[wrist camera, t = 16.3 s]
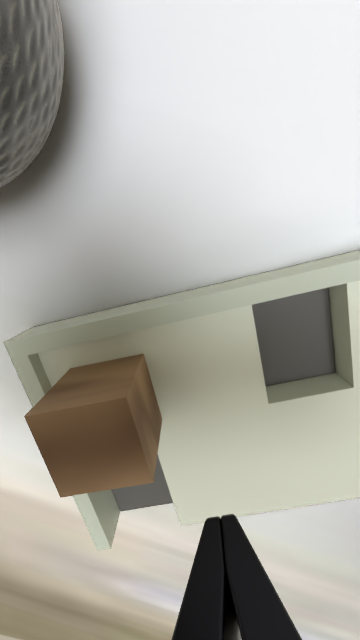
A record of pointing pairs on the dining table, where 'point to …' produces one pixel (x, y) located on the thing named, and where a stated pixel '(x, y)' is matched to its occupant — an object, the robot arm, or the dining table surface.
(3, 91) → the planter
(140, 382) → the block
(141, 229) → the dining table surface
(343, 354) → the trap tray
